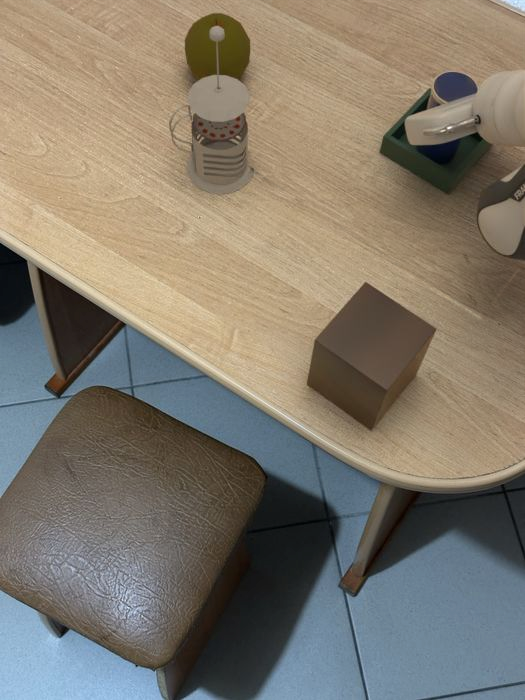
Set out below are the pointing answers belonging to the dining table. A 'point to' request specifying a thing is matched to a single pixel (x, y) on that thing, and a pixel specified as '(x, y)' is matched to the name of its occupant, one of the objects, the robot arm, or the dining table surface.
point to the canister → (442, 92)
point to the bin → (425, 168)
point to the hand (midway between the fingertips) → (451, 109)
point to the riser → (368, 355)
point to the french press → (217, 131)
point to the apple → (229, 49)
